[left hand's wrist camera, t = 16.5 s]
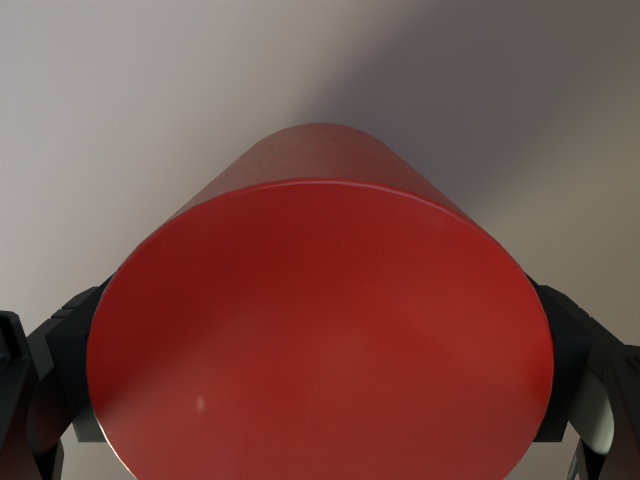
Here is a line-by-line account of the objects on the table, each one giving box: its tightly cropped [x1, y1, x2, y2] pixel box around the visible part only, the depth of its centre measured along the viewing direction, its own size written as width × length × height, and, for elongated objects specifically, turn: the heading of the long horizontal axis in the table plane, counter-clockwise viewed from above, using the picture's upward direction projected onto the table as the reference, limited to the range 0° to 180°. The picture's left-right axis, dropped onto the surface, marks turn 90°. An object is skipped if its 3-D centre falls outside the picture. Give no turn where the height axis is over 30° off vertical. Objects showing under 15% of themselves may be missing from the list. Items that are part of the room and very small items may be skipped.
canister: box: [86, 123, 554, 480], centre depth 12 cm, size 9×9×10 cm
